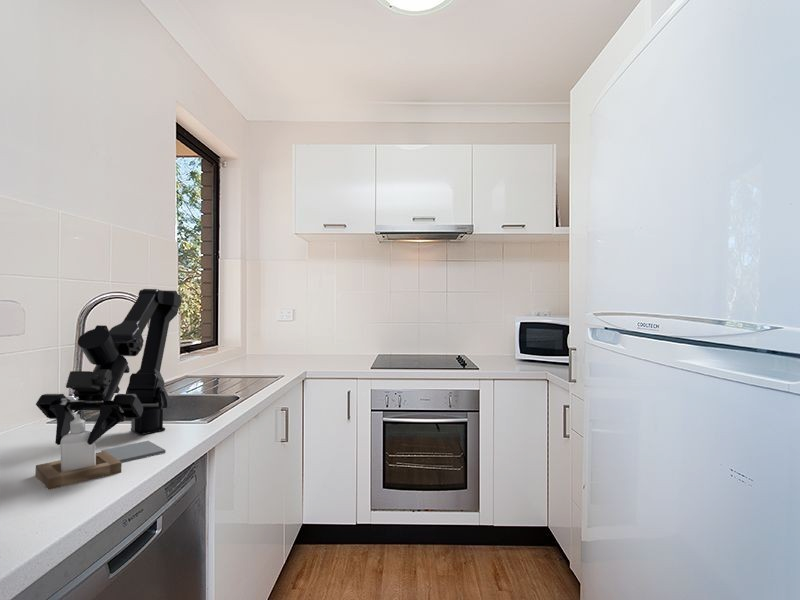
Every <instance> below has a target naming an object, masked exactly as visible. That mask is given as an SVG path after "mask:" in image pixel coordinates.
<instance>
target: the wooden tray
mask: <svg viewBox="0 0 800 600" xmlns="http://www.w3.org/2000/svg"><path fill="white" fill-rule="evenodd" d="M122 464H123V462H120V461H119V460H117V459H116V458H115V457H113V456H112V455H110V454H109V453H107V452H106V451H103V452H101V451H97V452H96V465H93V466H89V467H84V468H80V469H75V470H71V471H66V472H62V473H61V459H59V460H54V461H51V462H45V463H40V464H36V465H35V476H36V478H37V479H38V480H39V481H40V483H42V485H43V486H44V487H45V488H46V489H47V490H49V489H50V490H53V488H54V489H57V487H58V488H62V487H66V486H70V485H75V484H79V483H83V482H86V481H90V480H91V481H92V480H95V479H98V478H103V477H107V476H111V475H115V474H119V473H122ZM61 486H62V487H61Z"/></svg>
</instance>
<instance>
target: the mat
mask: <svg viewBox="0 0 800 600" xmlns="http://www.w3.org/2000/svg"><path fill="white" fill-rule="evenodd" d="M103 451H106V452H107V453H109V454H110V455H112V456H113V457H115V458H116V459H117V460H119V461H120V462H122V463H124V462H130V461H134V460H139V459H143V458H147V456H148V457H151V456H150V455H152V456H155V455H154V454H157V455H160V453H161V454H165V453H166V449H165V448H163V447H161V446H159V445H157V444H156V443H154V442H152V441H150V440H145V441H140V442H135V443H130V444H125V445H121V446H120V445H119V446H115V447H111V448H109V447H108V448H104V449H101V451H100V452H103Z"/></svg>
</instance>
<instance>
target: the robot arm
mask: <svg viewBox="0 0 800 600" xmlns="http://www.w3.org/2000/svg"><path fill="white" fill-rule="evenodd" d="M181 306H182V296H181V294H179V293H178V291H177V290H162V289H158V288H143V289H140V290H139V292H138V297H137V299H136V300H135V302H134V303H133V305H132V307H131V308H130V310H129V311H128V313H127V314H126V316H125V318H124V319H123V321H122V322H121V323H118V324H116V325H114V326H112V327H111V328H110V329H109V328H108V326H107V325H96V326H95V328H93V329H90V330H87V331H86V332H85V333H83V334H81V335H80V336H79V337H78V340H77V345H78V346H79V348H80V350H82V352H83V355H85V358H86V359H87V360H88V361H89V363H90V364H92V365H95V367H94V368H93V371H90V370H89V371H88V370H87V371H85V370H83V371H82V370H81V371H80V370H78V371H77V370H72V371H70V372H69V374H68V377H67V381H66V384H65V388H66V389H70V390H71V389H72V390H74V391H73V393H72V394H73V395H74V397H77V398H78V399H75V400H74V399H72V400H71V399H69V398H67V397H66V396H65V393H43V394H41V395H40V396H39V398H38V400H37V401H36V403H35V405H36V406H37V408H38V409H39V410H40V411H41V412H42V413H43V414H44V416H45V418H48V419H50V420H52V419H53V420H56V431H55V432H56V433H55V444H56V445H57V446H60V443H61V439H62V437H63V436H65V435H66V434H69V433H71V432H70V422H71V421H73V420H74V419H75V415H74V413H75V411H83V412H84V411H85V412H87V411H89V412H91V411H93V412H94V411H95V412H96V411H98V412H99V415H98V418H97V419H96V421H95V423H94V426H93V428H92V429H91V431H90V432H91V433H90V435H89V438H88V441H87V443H88V444H89V445H91V444H93V443H94V442H95V443H96V441H97V440H99V439H100V438H101V437H103V435H104V434H105V433H107V432H108V431H109V430H111V429H112V428H114V427H115V426H116V425H117V424H119V423H123V422H125V420H126V419H127V420H128V419H129V420H131V428H130V431H131V432H133V433H136V434H137V435H139V436H140V435H147V434H151V433H152V432H153V433H157V431H158V432H163V431H166V427H164V425H163V424H164V409H167V408H169V404H170V396H169V394H168V392H167V390H166V387H165V384H166V383H165V380H164V378H163V375H162V374H161V367H162V363H163V358H164V357H163V356H164V352H165V349H166V341H167V338H168V337H167V336H168V332H169V325H170V322H171V321H172V320H173V319H174V318H176V316H177V315H178V313H179V310H180V307H181ZM146 326H148V329H147V335H146V339H145V344H144V338H143V335H142V334H143V332H144V331H145V329H146ZM143 346H144V348H143ZM142 348H143V354H142V358H141V363H140V367H139V370H137V372H134V373H133V372H132V373H131V375H130V376H129V380H128V385H127V388H126V391H125V393H120V390H121V389H120V387H119V385H120V382H121V380H122V378H123V375H124V374H129V373H130V366H129V362H128V360H127V358H126V357H136V356H138V355H139V353H140V352H141V351H142ZM112 399H113V400H112Z"/></svg>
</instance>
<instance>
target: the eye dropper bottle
mask: <svg viewBox="0 0 800 600" xmlns="http://www.w3.org/2000/svg"><path fill="white" fill-rule="evenodd" d="M74 417H75V419H74V420H73V421H71V422H70V432H69V433H68V434H66V435H65V436H63V437H62V439H61V443H60V445H59V446H60V449H59V450H60V460H61V473H62V472H66V471H71V470H75V469H80V468H84V467H89V466H93V465H96V453H97V452H96V450H97V449H96V441H95V442H94V443H93V444H91V445H89V444H88V443H87V441H88V438H89V435H90V433H91V431H89V430H86V420H85V419H83V418H81V415H80V413H77V414H75V415H74Z"/></svg>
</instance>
